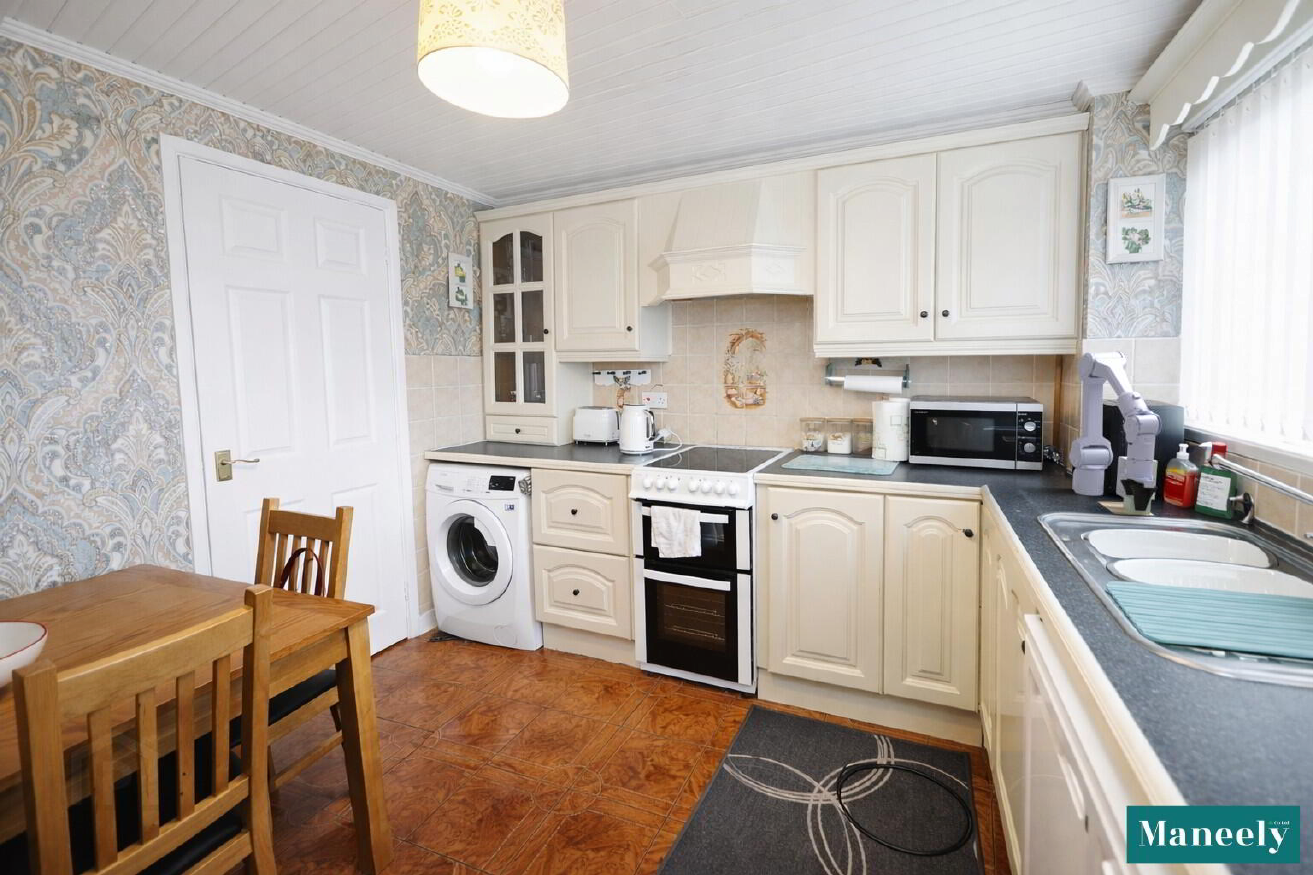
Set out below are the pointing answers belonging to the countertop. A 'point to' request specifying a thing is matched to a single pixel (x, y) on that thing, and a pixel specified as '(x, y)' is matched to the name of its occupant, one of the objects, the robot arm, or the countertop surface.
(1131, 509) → the pale green block
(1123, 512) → the board
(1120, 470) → the supplement box
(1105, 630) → the countertop surface
